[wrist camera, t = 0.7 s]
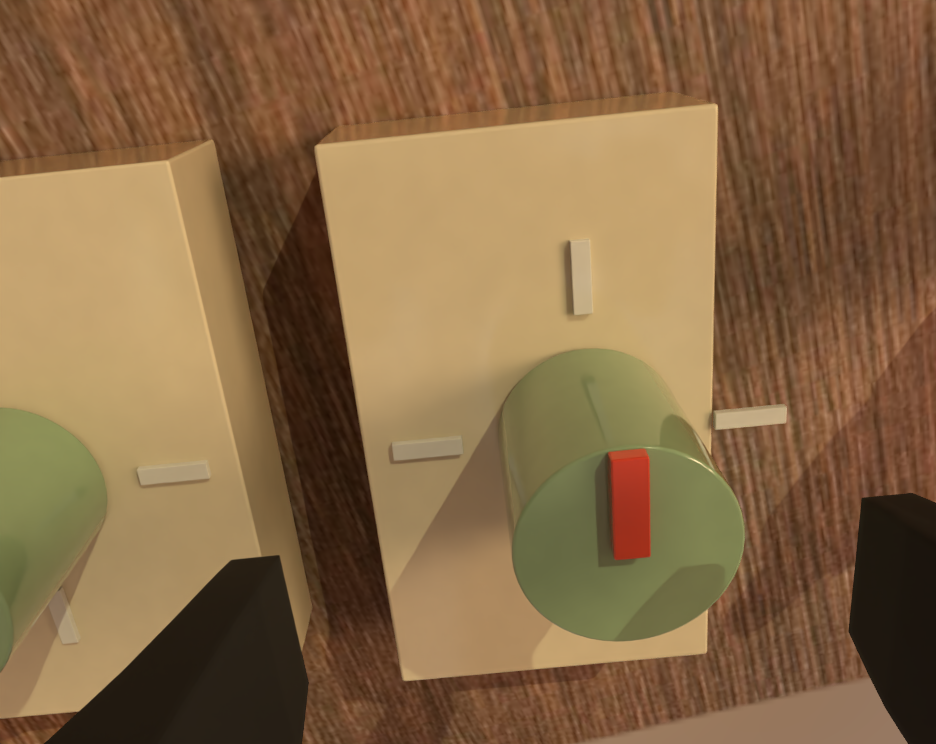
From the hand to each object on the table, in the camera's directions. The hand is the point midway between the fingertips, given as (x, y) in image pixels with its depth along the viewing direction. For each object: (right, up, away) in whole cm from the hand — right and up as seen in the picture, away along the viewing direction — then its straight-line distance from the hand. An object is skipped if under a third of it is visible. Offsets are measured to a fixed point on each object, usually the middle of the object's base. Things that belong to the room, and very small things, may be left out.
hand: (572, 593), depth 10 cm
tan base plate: (-9, +2, +9) cm, 13 cm away
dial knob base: (0, +3, +9) cm, 9 cm away
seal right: (+1, +2, +6) cm, 6 cm away
